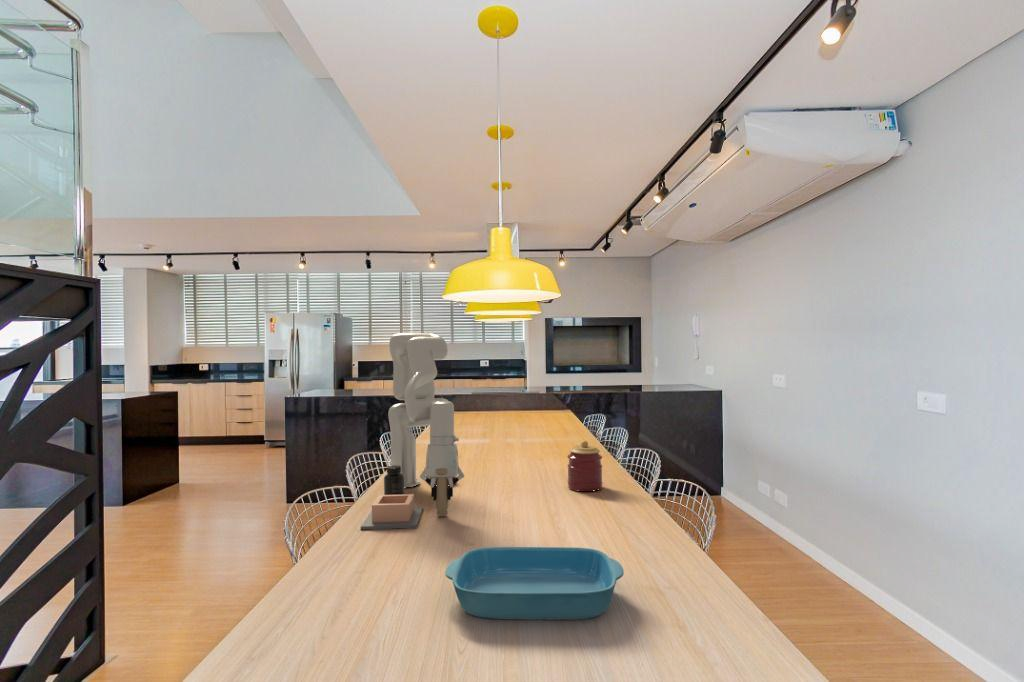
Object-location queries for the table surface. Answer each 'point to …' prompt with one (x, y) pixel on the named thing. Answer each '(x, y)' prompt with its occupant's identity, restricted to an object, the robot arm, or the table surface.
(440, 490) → the handle
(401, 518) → the socket
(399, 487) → the supplement bottle
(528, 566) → the casserole dish
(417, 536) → the table surface
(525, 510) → the table surface
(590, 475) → the canister
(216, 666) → the table surface
